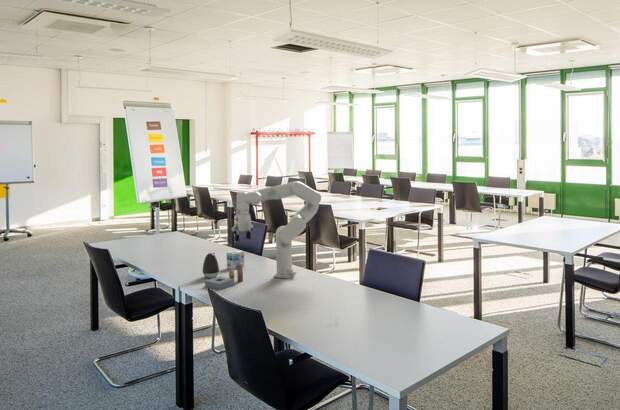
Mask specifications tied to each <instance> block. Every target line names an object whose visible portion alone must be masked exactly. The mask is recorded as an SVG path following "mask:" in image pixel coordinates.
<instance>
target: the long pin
mask: <svg viewBox="0 0 620 410" xmlns="http://www.w3.org/2000/svg"><path fill="white" fill-rule="evenodd" d="M243 268H244V267H243V265H242V263H237V269H236V270H237V271H236V272H237V273H236V274H237V282H238V283H242V282H243V281H244V277H243V276H244V275H243V273H244V271H243Z"/></svg>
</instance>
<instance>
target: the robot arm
mask: <svg viewBox="0 0 620 410" xmlns="http://www.w3.org/2000/svg"><path fill="white" fill-rule="evenodd" d="M294 196H296V197H297V198H300V199H301V200H303V201H305V204H304V205H303V207H301V209H300V210H298V211H297V212H296V213H295V214H294V215H292V216H291V217H290V219H289V220H288V221H289V222H288V223H287V224H286V225H281V226H278V227H277V229H276V230H275V247H276V253H275V254H276V256H275V257H276V273H274V277H275V278H277V279H290V278H293V277H295V276H296V275H297V271H294V268H293V258H292V257H293V253H292V251H293V246H292V245H293V244H292V242H293V240H295V239H296V238H297V237H298V236H300V234H301V233H303V232H304V230H305V229H306V227H307V223H308V222H309V221H310V220H311V219H312V218H313V217H314V216H315V215H316V214H317V212H318V211H319V207H320V203H321V201H322V195H321V193H320V192H319V191H317V190H315V189H313V188H311V187H310V186H308V185H306V184H305V183H303V182H301V181H299V180H295V181H290V182H286V183H281V184H278V185H274V186H270V187H266V188H261V189H256V190H254V191H252V192H247V191H239V192H237V193H236V211H235V213H236V214H235V219H234V220H235V221H234V225H233V226H232V227H231V231H232V233H233V235H234V241H235V242H240V232H245V238H246V240H251V239H252V238H251V237H252V236H251V234H252V231H253V228H254V224H252V218H251V213H250V205H259V204H260V203H261V202H265V201H269V200H283V199H285V198H289V197H294Z"/></svg>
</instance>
